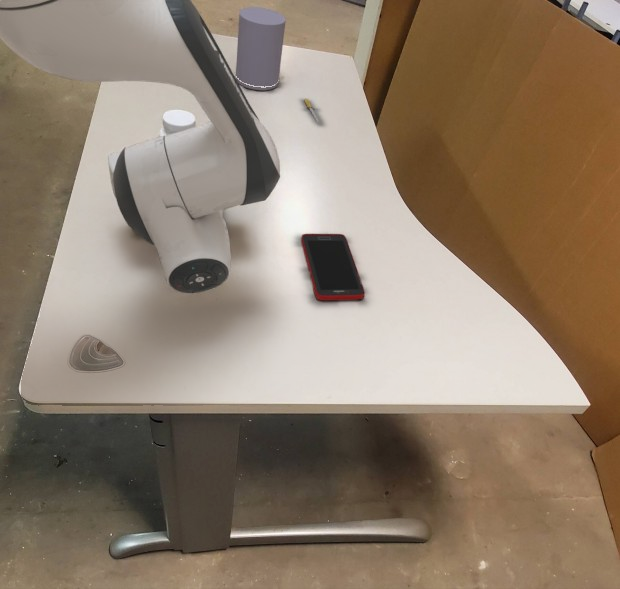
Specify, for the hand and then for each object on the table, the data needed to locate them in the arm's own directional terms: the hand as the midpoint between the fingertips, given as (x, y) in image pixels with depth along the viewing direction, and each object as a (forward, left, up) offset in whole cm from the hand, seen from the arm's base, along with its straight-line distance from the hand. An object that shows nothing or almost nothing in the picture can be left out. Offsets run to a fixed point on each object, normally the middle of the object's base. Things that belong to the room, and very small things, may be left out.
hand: (178, 144), depth 80 cm
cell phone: (+23, -16, -12) cm, 30 cm away
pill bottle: (0, -1, -6) cm, 6 cm away
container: (+20, +50, -12) cm, 55 cm away
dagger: (+31, +36, -12) cm, 49 cm away
